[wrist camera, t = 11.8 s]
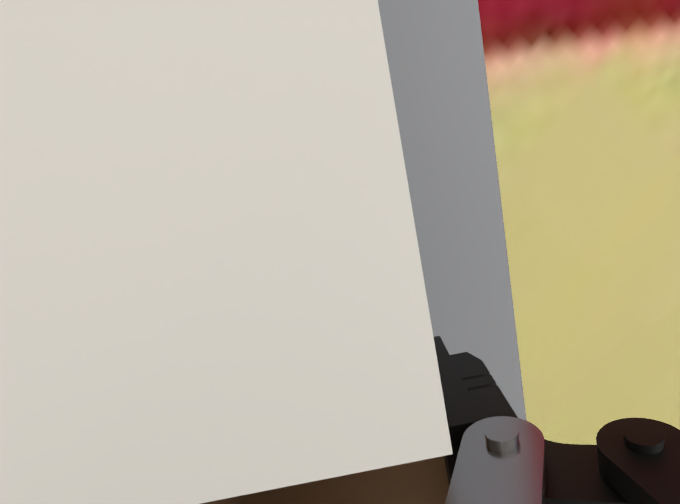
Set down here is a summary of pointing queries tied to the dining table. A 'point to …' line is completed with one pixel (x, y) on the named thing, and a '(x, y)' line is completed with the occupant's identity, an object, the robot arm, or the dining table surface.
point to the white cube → (205, 253)
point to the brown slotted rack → (363, 487)
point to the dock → (454, 180)
